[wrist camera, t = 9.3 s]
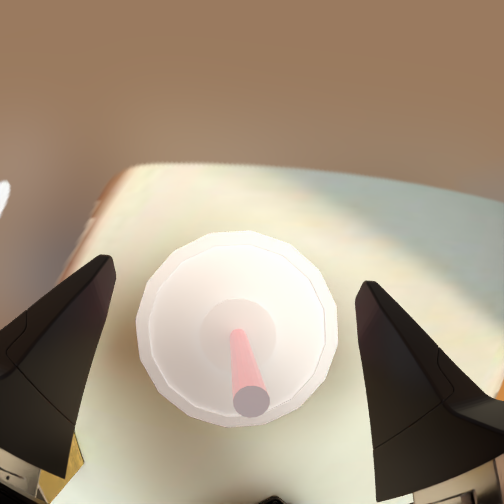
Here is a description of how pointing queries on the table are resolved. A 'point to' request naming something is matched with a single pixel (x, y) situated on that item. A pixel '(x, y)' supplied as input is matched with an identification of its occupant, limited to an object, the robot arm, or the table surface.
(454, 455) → the robot arm
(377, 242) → the table surface
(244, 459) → the table surface
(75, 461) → the candy box
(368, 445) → the table surface
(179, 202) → the table surface
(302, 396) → the beverage cup
